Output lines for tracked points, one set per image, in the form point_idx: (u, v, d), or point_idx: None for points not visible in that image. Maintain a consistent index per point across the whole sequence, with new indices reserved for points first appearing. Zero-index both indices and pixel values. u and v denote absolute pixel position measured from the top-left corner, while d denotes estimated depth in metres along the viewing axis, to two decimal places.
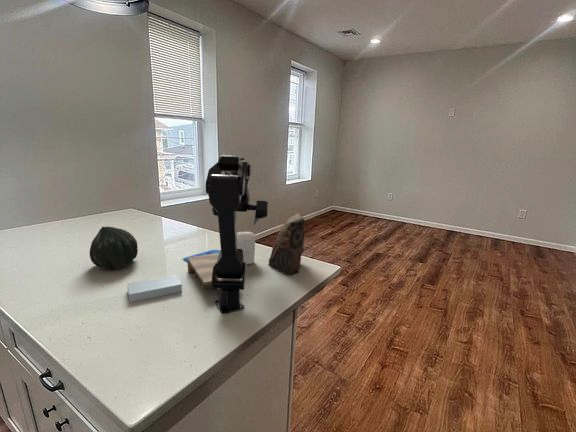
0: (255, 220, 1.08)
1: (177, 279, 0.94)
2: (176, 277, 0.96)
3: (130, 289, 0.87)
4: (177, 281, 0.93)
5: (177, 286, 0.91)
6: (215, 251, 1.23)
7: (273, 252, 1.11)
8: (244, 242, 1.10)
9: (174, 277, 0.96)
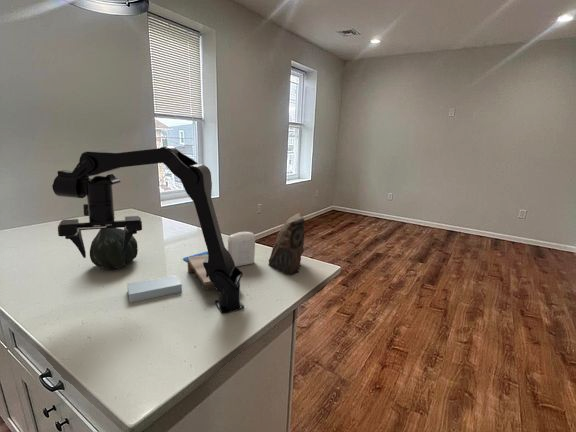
0: (125, 241, 0.84)
1: (177, 279, 0.94)
2: (176, 277, 0.96)
3: (130, 289, 0.87)
4: (177, 281, 0.93)
5: (177, 286, 0.91)
6: None
7: (273, 252, 1.11)
8: (244, 242, 1.10)
9: (174, 277, 0.96)
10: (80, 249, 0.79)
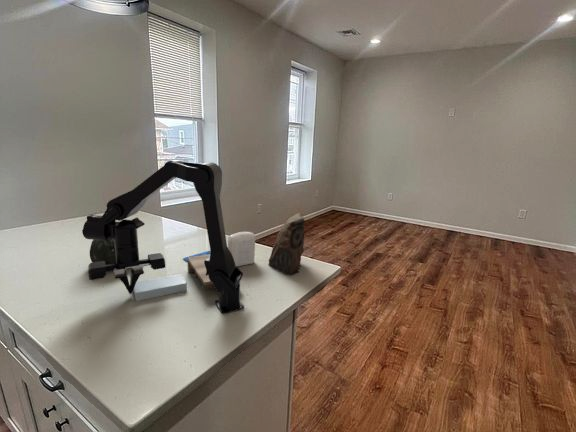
0: (133, 281, 0.86)
1: (182, 278, 0.95)
2: (181, 276, 0.97)
3: (136, 288, 0.88)
4: (182, 280, 0.94)
5: (182, 285, 0.92)
6: None
7: (273, 252, 1.11)
8: (244, 242, 1.10)
9: (179, 276, 0.97)
10: (127, 286, 0.86)
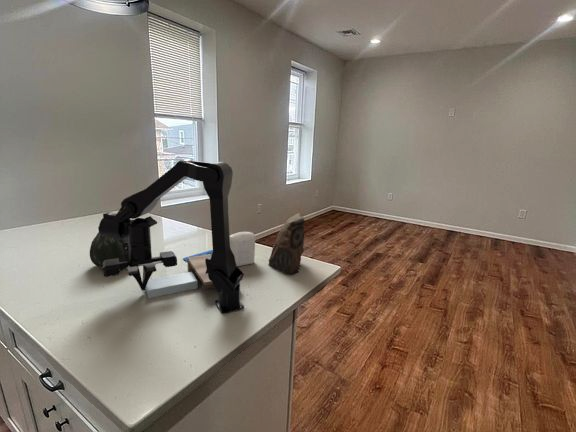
0: (146, 278, 0.87)
1: (192, 276, 0.97)
2: (191, 274, 0.98)
3: (148, 285, 0.90)
4: (193, 278, 0.96)
5: (193, 282, 0.94)
6: None
7: (273, 252, 1.11)
8: (244, 242, 1.10)
9: (189, 274, 0.98)
10: (140, 283, 0.87)
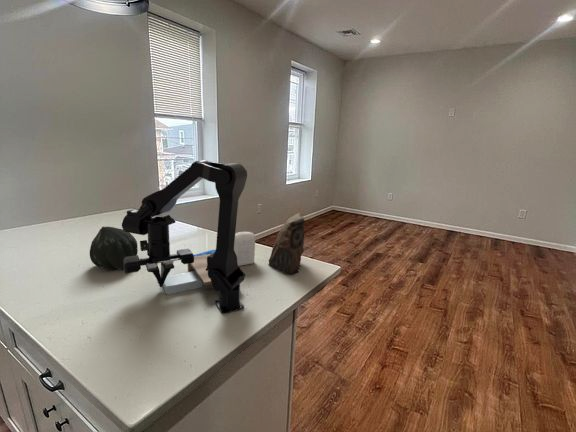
0: (164, 275, 0.90)
1: None
2: None
3: (166, 282, 0.92)
4: None
5: None
6: None
7: (273, 252, 1.11)
8: (244, 242, 1.10)
9: None
10: (158, 280, 0.90)
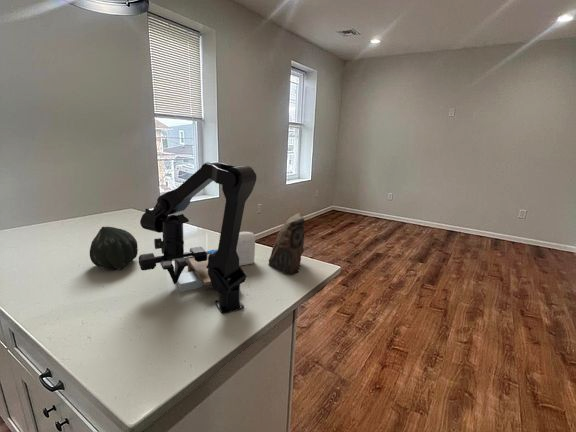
0: (178, 272, 0.92)
1: None
2: None
3: (179, 279, 0.94)
4: None
5: None
6: (215, 251, 1.23)
7: (273, 252, 1.11)
8: (244, 242, 1.10)
9: None
10: (172, 277, 0.92)
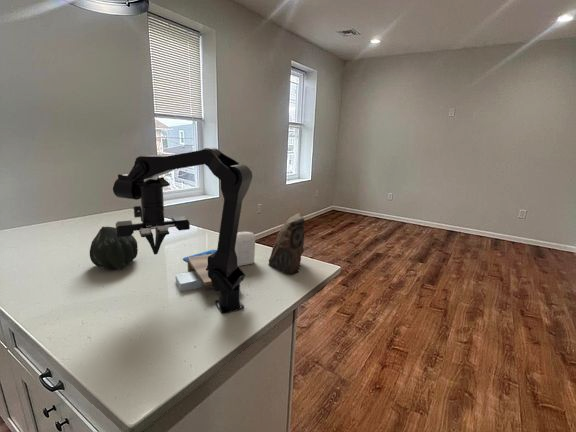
0: (159, 241, 0.87)
1: None
2: None
3: (180, 279, 0.94)
4: None
5: None
6: None
7: (273, 252, 1.11)
8: (244, 242, 1.10)
9: None
10: (152, 246, 0.86)
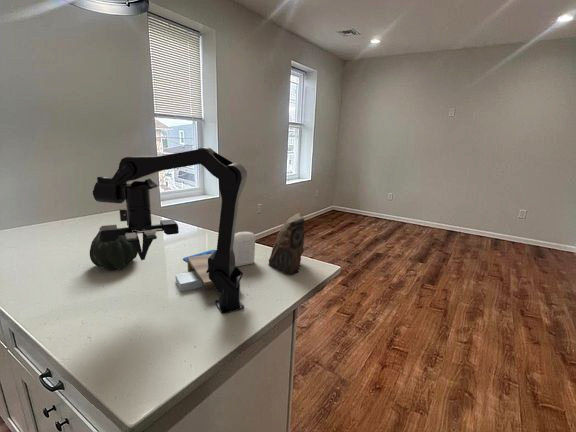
0: (145, 246, 0.82)
1: None
2: None
3: (180, 279, 0.94)
4: None
5: None
6: None
7: (273, 252, 1.11)
8: (244, 242, 1.10)
9: None
10: (139, 252, 0.82)
